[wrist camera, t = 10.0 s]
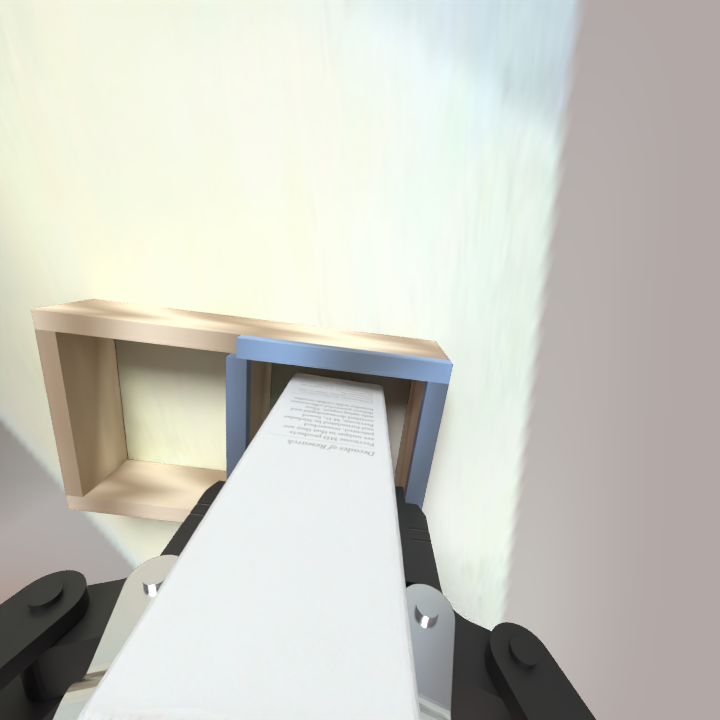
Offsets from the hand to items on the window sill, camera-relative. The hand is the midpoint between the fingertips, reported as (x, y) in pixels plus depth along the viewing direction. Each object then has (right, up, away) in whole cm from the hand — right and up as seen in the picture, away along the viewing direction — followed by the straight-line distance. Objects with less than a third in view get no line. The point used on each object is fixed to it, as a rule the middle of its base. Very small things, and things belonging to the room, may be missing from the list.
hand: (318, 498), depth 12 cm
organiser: (-4, +2, +6) cm, 7 cm away
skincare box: (0, +1, +5) cm, 5 cm away
